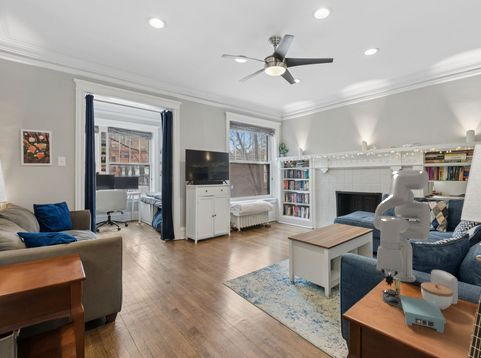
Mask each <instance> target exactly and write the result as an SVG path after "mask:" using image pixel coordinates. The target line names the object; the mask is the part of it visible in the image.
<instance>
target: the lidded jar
mask: <svg viewBox="0 0 481 358" xmlns="http://www.w3.org/2000/svg"><path fill="white" fill-rule="evenodd" d="M420 289H421V296H422V299H424V300H429V301H434V302H436V304H437V306H438V307H439V309H440V311H441V310H446V309H447V308H449V307H450V306H451V305H452V304H451V303H452V300H453V291H452V290H451V289H450V288H448V287H446V286H443V285H440V284H436V283H431V282H422V283H421V284H420Z"/></svg>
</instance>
